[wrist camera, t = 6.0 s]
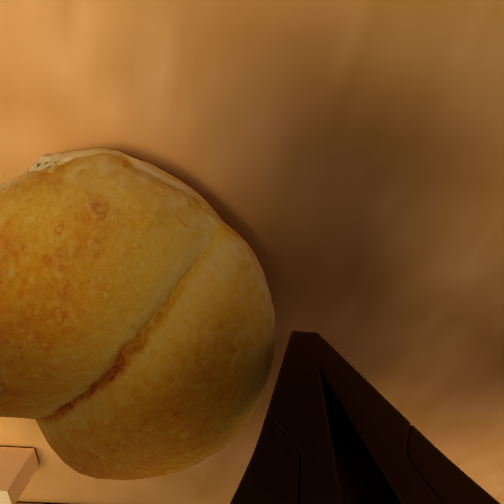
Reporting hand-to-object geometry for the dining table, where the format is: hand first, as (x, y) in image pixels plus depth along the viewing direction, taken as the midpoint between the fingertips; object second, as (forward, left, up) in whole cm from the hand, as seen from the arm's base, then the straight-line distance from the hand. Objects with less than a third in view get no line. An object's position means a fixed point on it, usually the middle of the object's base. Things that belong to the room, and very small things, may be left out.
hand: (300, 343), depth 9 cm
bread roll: (+5, 0, -2) cm, 5 cm away
